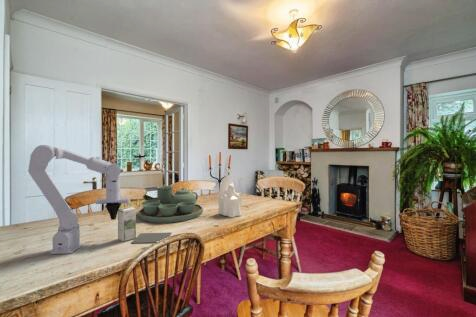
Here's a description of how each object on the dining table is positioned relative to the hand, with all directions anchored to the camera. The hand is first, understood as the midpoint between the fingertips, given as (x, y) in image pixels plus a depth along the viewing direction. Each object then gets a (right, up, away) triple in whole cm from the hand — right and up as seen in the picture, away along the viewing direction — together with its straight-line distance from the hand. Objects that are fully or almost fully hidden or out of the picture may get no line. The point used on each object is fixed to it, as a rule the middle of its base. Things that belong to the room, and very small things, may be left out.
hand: (113, 219), depth 107 cm
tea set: (+15, -9, +44) cm, 47 cm away
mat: (+17, -9, +2) cm, 20 cm away
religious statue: (+55, -8, +44) cm, 71 cm away
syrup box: (+6, -10, +1) cm, 11 cm away
